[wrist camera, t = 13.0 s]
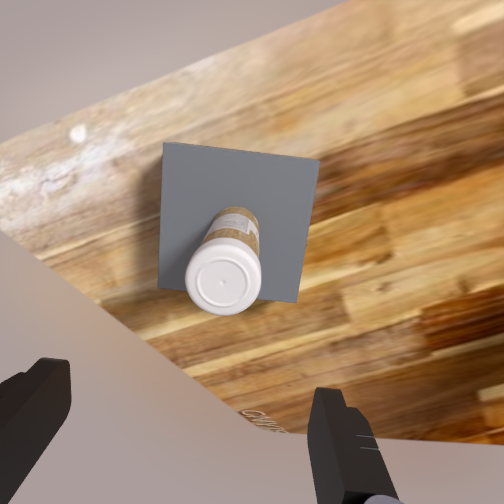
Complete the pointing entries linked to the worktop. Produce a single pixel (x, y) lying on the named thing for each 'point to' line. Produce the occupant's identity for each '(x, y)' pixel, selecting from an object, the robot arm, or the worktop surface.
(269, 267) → the grey block
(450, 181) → the worktop surface
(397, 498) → the robot arm
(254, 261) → the spice jar
